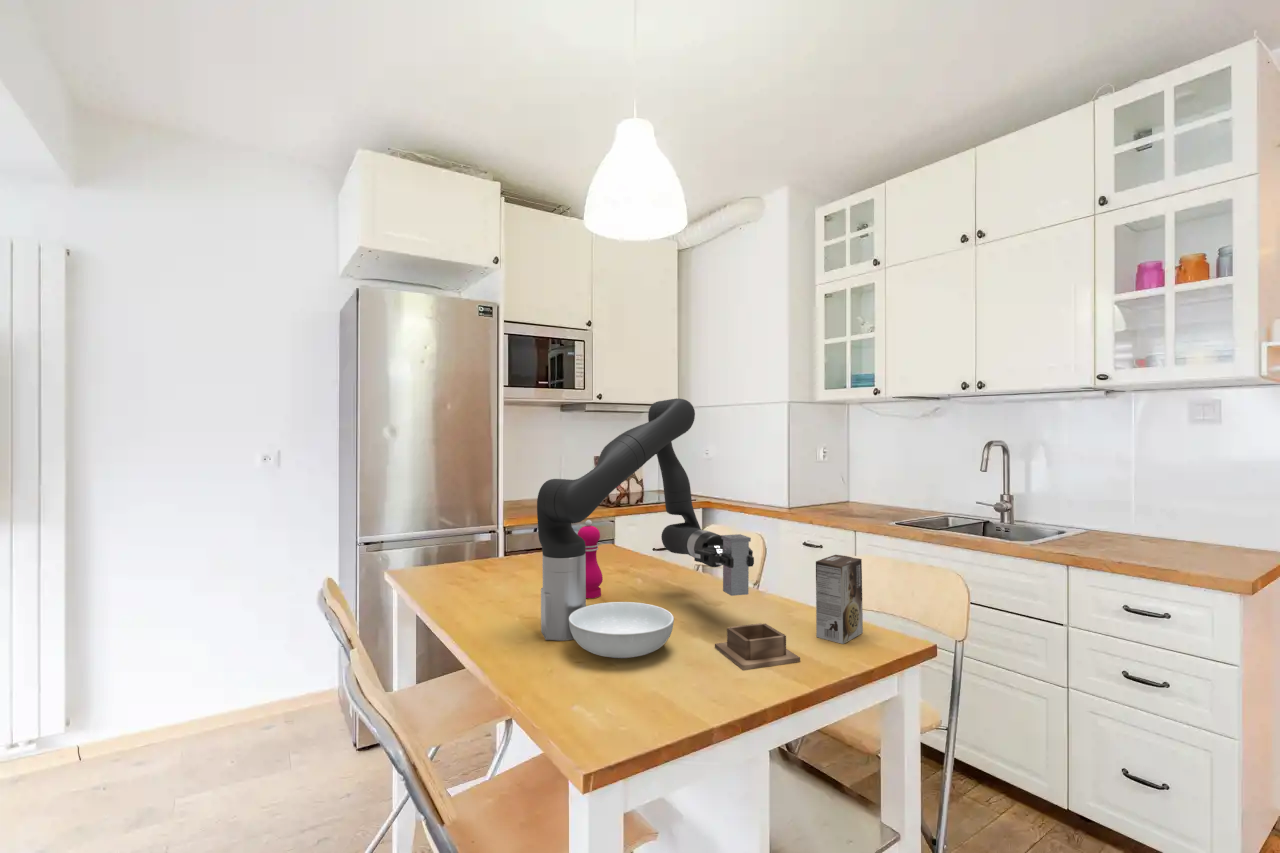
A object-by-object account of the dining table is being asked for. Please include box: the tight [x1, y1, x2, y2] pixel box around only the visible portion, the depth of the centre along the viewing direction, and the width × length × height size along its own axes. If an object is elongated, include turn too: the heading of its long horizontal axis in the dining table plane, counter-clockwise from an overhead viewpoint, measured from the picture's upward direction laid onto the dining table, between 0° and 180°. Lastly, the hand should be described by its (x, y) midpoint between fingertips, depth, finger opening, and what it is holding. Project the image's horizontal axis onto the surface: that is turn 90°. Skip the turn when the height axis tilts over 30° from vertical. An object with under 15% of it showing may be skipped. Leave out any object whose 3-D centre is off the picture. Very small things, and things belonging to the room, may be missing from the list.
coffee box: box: [815, 554, 864, 645], centre depth 130 cm, size 9×6×16 cm
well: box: [714, 622, 801, 671], centre depth 119 cm, size 12×12×4 cm
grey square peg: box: [720, 533, 752, 597], centre depth 131 cm, size 5×5×12 cm
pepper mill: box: [577, 519, 604, 599], centre depth 162 cm, size 7×7×20 cm
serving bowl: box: [569, 601, 675, 659], centre depth 122 cm, size 21×21×7 cm
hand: (741, 562), depth 128 cm, fingers closed on grey square peg, 4 cm apart
